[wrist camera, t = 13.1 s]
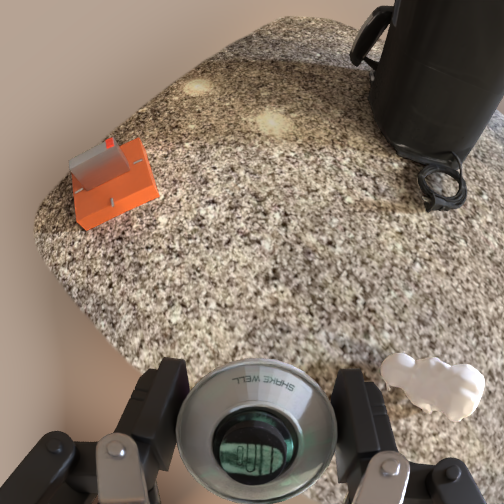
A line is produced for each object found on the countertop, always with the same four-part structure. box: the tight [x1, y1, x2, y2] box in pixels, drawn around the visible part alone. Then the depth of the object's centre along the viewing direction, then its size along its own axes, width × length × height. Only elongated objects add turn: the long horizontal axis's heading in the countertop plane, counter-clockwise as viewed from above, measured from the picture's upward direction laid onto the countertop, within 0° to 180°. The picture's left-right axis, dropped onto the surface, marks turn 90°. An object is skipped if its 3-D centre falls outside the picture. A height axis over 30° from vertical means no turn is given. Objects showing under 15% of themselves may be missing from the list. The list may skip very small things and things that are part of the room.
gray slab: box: [69, 137, 130, 191], centre depth 37 cm, size 7×2×6 cm, turn 114°
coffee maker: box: [349, 0, 504, 212], centre depth 29 cm, size 23×32×34 cm
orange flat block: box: [72, 137, 159, 231], centre depth 41 cm, size 12×11×3 cm
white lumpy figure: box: [380, 351, 484, 422], centre depth 27 cm, size 6×8×12 cm
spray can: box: [176, 358, 338, 504], centre depth 16 cm, size 6×6×20 cm
